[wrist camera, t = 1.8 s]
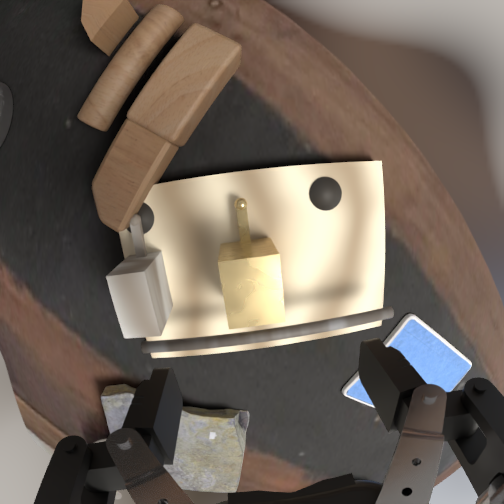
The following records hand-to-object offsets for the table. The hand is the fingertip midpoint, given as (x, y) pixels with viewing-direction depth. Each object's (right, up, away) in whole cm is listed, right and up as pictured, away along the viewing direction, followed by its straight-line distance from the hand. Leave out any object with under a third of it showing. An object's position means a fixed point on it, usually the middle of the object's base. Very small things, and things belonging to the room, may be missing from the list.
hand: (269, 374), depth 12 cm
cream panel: (0, +4, +15) cm, 16 cm away
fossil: (-10, -19, +21) cm, 31 cm away
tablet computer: (+21, -11, +21) cm, 32 cm away
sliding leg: (-1, +5, +13) cm, 14 cm away
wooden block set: (-13, +19, +11) cm, 25 cm away
